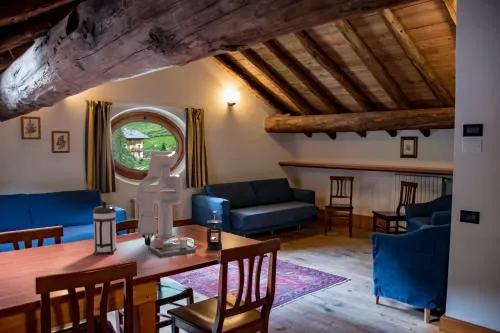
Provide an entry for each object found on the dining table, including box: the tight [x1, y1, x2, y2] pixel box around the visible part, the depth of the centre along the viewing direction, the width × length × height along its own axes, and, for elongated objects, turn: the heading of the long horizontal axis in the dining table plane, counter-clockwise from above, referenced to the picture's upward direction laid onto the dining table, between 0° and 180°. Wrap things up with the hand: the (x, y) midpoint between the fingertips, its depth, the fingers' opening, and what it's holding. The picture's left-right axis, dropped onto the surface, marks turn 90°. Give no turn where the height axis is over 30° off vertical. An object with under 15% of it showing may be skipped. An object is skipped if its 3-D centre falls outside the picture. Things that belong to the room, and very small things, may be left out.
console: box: [147, 242, 197, 259], centre depth 254 cm, size 20×22×3 cm
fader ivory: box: [179, 237, 188, 248], centre depth 254 cm, size 4×3×5 cm
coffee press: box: [92, 201, 118, 256], centre depth 249 cm, size 17×16×30 cm
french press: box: [206, 210, 223, 252], centre depth 259 cm, size 12×9×23 cm
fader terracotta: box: [155, 237, 164, 248], centre depth 254 cm, size 4×3×5 cm
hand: (147, 245), depth 250 cm, fingers closed
